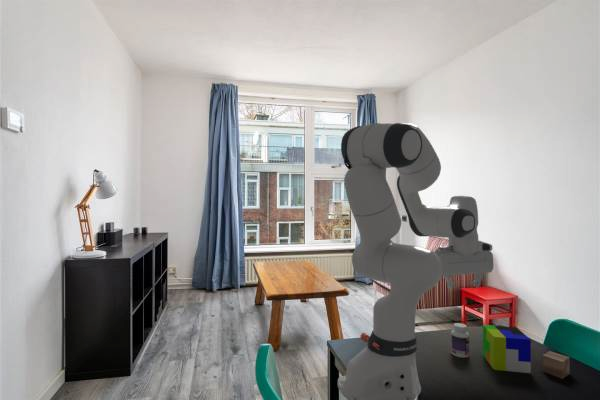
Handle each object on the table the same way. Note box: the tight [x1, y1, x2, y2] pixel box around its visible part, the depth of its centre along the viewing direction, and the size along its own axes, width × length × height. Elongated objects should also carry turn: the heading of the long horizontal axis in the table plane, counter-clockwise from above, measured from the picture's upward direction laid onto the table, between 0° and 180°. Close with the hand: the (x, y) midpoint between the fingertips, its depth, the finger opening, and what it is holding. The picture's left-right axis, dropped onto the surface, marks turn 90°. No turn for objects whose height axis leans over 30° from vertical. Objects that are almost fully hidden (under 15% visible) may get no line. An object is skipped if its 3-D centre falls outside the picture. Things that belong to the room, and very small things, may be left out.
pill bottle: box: [450, 322, 470, 359], centre depth 113 cm, size 5×5×10 cm
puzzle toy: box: [482, 324, 532, 374], centre depth 107 cm, size 10×10×10 cm
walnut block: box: [542, 350, 571, 380], centre depth 101 cm, size 5×5×5 cm
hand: (463, 287), depth 112 cm, fingers open, 8 cm apart
